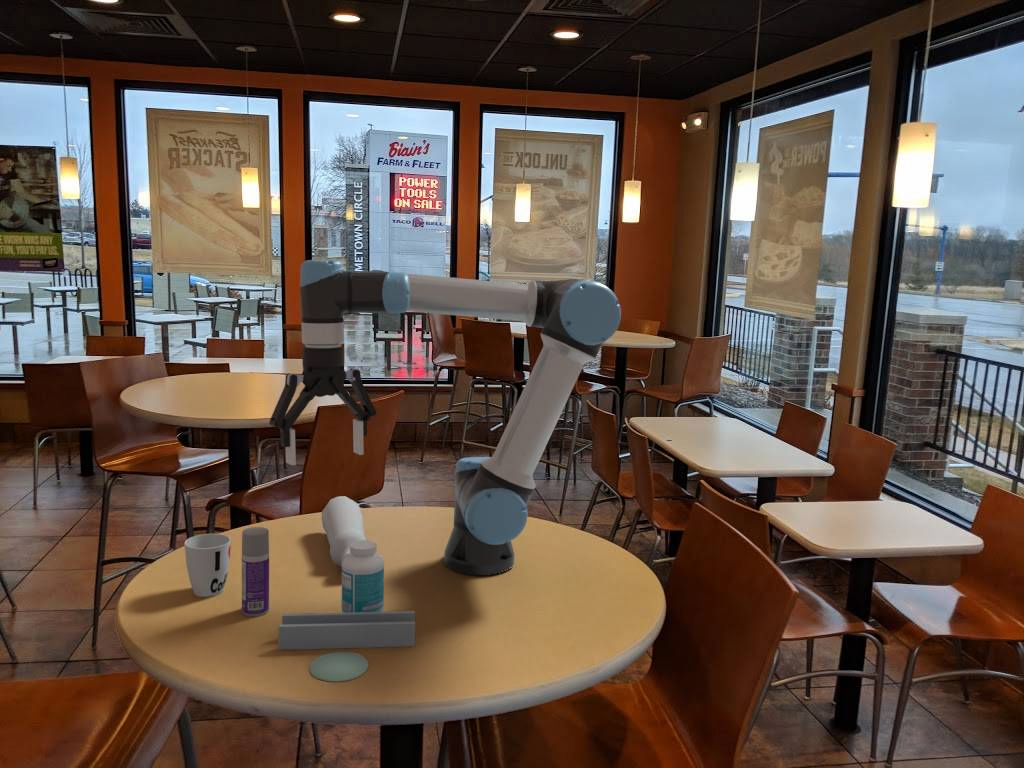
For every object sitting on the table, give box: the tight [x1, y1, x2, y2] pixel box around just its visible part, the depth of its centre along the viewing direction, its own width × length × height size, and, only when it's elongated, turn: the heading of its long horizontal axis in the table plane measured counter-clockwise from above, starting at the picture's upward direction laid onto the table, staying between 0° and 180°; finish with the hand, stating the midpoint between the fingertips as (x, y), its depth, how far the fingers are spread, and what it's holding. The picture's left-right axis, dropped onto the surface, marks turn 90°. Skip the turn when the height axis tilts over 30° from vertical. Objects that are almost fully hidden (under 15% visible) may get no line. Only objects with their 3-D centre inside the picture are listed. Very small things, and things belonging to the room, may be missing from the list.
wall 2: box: [281, 610, 416, 625], centre depth 134 cm, size 22×1×4 cm, turn 99°
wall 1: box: [278, 621, 416, 651], centre depth 130 cm, size 22×1×4 cm, turn 99°
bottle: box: [321, 495, 367, 568], centre depth 171 cm, size 9×9×30 cm
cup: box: [184, 533, 232, 598], centre depth 149 cm, size 8×8×10 cm
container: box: [241, 526, 270, 618], centre depth 141 cm, size 5×5×15 cm
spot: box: [309, 651, 369, 683], centre depth 124 cm, size 9×9×1 cm
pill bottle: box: [341, 539, 385, 613], centre depth 141 cm, size 8×7×14 cm
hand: (325, 458), depth 148 cm, fingers open, 13 cm apart
